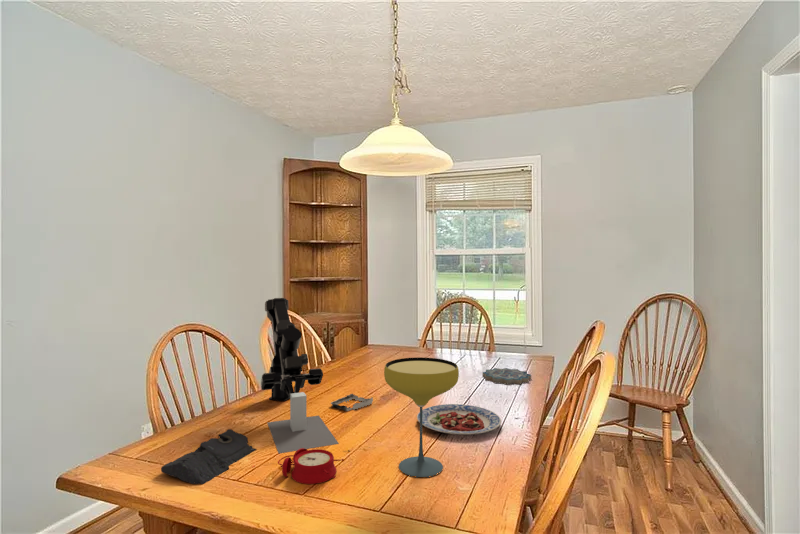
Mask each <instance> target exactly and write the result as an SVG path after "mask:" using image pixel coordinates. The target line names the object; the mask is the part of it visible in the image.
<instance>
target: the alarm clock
mask: <svg viewBox="0 0 800 534" xmlns="http://www.w3.org/2000/svg"><path fill="white" fill-rule="evenodd" d="M291 457H293V458H291ZM283 459H284V460H283ZM292 459H293V460H292ZM282 460H283V462H282V464H281V463H280V462H281V461H282ZM339 461H342V462H343V461H344V458H342V459H335V457H334V453H332V452H331V451H329V450H326V449H320V448H319V449H315V448H314V449H309V450H308V449H304V448H301V449H299V450H297V451H294V454H293V455H292V454H291V455H285V456H284V457H281V458H280V459H279V460H278V461H277V464H278V465H279V466H280V468H281V472H282V475H283V477H285V478H288V474H290V473H291V478H292V480H293V481H294V482H297V483H299V484H303V485H313V484H314V485H315V484H320V483H324V482H327V481H329V480H331V479H335V478H336V477H337V476H336V474H337V467H336V465H335V464H334V463H335V462H339ZM292 466H293V468H292ZM291 470H292V471H291Z"/></svg>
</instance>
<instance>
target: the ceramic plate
mask: <svg viewBox="0 0 800 534" xmlns="http://www.w3.org/2000/svg"><path fill="white" fill-rule="evenodd" d="M416 418H417V421H418V423H420V411H419V412H418V413H417V415H416ZM501 424H502V419H501V417H500V415H498V414H497V413H496V412H494V411H492V410H489V409H487V408H485V407H480V406H476V405H470V404H462V403H459V404H458V403H448V404H447V403H445V404H438V405H431V406H428V407H426V408H425V407H424V409H423V408H422V427H423V426H424V427H425V428H427V429H430V430H432V431H435V432H440V433H444V434H451V435H479V434H485V433H488V432H492V431H494V430H497V428H499V427H500V426H501Z"/></svg>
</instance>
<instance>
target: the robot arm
mask: <svg viewBox="0 0 800 534" xmlns="http://www.w3.org/2000/svg"><path fill="white" fill-rule="evenodd" d="M289 310H290V307H289V300H288V299H287V298H285V297H275V298H272V299H267V300H266V301H265V302H264V311H265V312H266V316H267V318H268V320H269V321H270V322H271V327H272V328H271V329H272V340H273V350H274V351H273V352H274V356H273V358H272V360H271V364H270V366H269V371H268V372H266V373H265V372H264V373H263V374H262V375H261V378H260V379H261V380H260V389H261V390H262V391H268V390H271V396H270V397H269V398H268V399H269V401H270V400H271V401H281V402H286V401H287V400H290V394H291V393H300V392H301V389H304V387H305V384H306V381H307V383H308V384H309V385H310V386H314V385H315V386H316V385H320V384H321V383H322V380H323V376H324V373H323V372H324V371H323V370H322V369H321V368H320V367H319V368H310V369H309V370H308V373H302V372H303V366H306V365H308V364H309V357H308V353H301V355H299V353H298V349H299V348H300V347H299V346H300V344H301V339H302V331H301V330H300V329H298V327H296V326H295V325H296V324H294V323H293V322H291V320H290V315H289ZM293 382H294V386H293Z"/></svg>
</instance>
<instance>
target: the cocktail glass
mask: <svg viewBox="0 0 800 534" xmlns="http://www.w3.org/2000/svg"><path fill="white" fill-rule="evenodd" d="M383 375H384V377H383V378H384V381H385V382H386V383H387V385H388V386H389V387H390V388H391V389H392V390H394V391H396V392H397V393H400V394H402V395H404V396H406V397H408V398H410V399H411V400H412V401H413V402H414V404H415V405H416V406H417V407H418V408H419V412H420V422H419V443H418V444H419V445H418V446H419V449H418V455H416V456H411V457H407V458H404V459H403V460H401V461H400V462H399V464H398V469H399V471H400V470H401V471H402V472H403V474H404V473H405V474H404V475H406V474H407V475H406V476H408V475H410V476H409V477H412V476H416V477H415V478H418V477H427V478H430V477H429V476H432V477H434V476H433V475H436V474H437V473H439V472H441V471H442V472H443V470H444V465H443V463H442V462H441V461H439V460H438V459H436V458H433V457H428V456H424V452H423V451H424V449H423V448H424V447H423V425H422V410H423V408H425V406H426V405H428V403H429V401H430V400H432V399H433V398H436V397H437V396H440V395H442V394H445V393H447V392H449V391H451V389H453V388H454V387H455V386H456V385H457V383H458V382H459V377H460V376H459V375H460V371H459V367H458V365H457V364H456V363H455V362H453V361H450V360H447V359H443V358H437V357H421V356H420V357H419V356H418V357H405V358H404V357H403V358H397V359H393V360H390V361H388V362H386V363H385V365H384V369H383ZM442 469H443V470H442ZM401 471H400V472H401ZM402 472H401V473H402ZM442 472H441V473H442ZM439 474H440V473H439ZM436 476H437V475H436Z"/></svg>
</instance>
